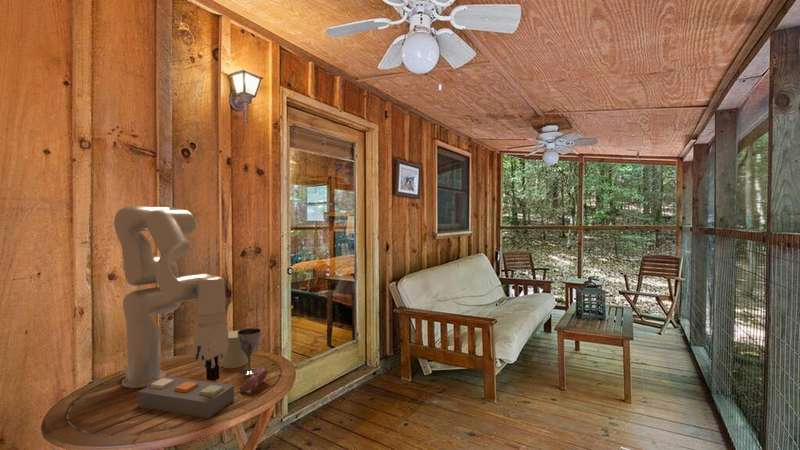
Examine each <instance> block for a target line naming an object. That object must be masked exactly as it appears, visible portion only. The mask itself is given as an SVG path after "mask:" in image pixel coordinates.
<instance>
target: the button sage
mask: <svg viewBox="0 0 800 450" xmlns="http://www.w3.org/2000/svg"><path fill="white" fill-rule="evenodd" d="M222 391H223V387H222V386H215V385H210V386H208V387H206V388H205V389H203V390H201V391H200V395H201V396H208V397H214V396H215V395H217V394H219V393H220V392H222Z"/></svg>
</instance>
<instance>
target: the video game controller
mask: <svg viewBox="0 0 800 450" xmlns="http://www.w3.org/2000/svg"><path fill="white" fill-rule="evenodd" d="M268 375H269V370H267V368H264V367H262V368H261V369H260V368H259V370H257V371H255V372H254V374H253V375H250V376H249V378H248V379H247V380H246V381H245V382H244V383H243V384H241V385H240V386H239V392H240V393H247V392H248V391H250V390H252V391H254V390H255V389H256V388H257V386H261V385H262V384H263V381H264V380H265V379H266V378H267V377H268Z"/></svg>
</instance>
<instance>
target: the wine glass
mask: <svg viewBox="0 0 800 450" xmlns="http://www.w3.org/2000/svg"><path fill="white" fill-rule="evenodd" d="M237 331H238V333H237V337H238V344H239V347H240V349H241V350H242V351H243V352H244V353H245V354H246V355H247V361H248V363H247V368H244V369H240V371H239V372H238V375H240V376H243V377H248V376H249V377H251V376H252V375H253V374H254V372H255V371H257V370H260V368H258V367H252V366H251V361H252V356H253V354H254V353H255V351H256V350H257V349H258V348H259V346H260V342H261V337H262V335H261V334H262V330H261V328H257V327H247V328H243V329H240V330H237Z"/></svg>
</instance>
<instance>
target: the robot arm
mask: <svg viewBox="0 0 800 450" xmlns="http://www.w3.org/2000/svg"><path fill="white" fill-rule="evenodd" d="M196 222H197V221H196V218H195V217H194V215H193V213H192V212H190V211H189V210H187V209H183V208H176V207H170V206H145V205H142V206H141V205H137V206H134V205H133V206H127V207H126V206H125V207H123V208H122V207H121V208H120V209H119V210H118V211H117V212H116V213H115V216H114V221H113V224H114V230H115V231H114V232H115V234H116V237H117V239H118V242H119V244H120V246H121V252H122V253H121V254H122V260H123V261H122V262H123V269H124V271H123V272H124V276H125V280H126V283H127V284H128V285H131V286H136V287H137V286H147V285H153V284H157V286H156V287H147V288H142V289H137V290H133V291H131V292H129V293H127V294H126V295H125V296H124V298H123V300H122V310H123V312H124V318H125V324H126V326H125V327H126V350H127V351H126V356H127V357H126V361H127V363H126V365H125V366H124V368H123V369H122V368H121V370H120V374H125V378H123V379H122V381H121V385H122V387H123V388H127V389H139V388H141V389H142V388H146V387H148V386H150V385H151V384H152V383H154V382H156V381H158V380H160V379H162V378H166V377H167V373H166V371H164V370H162V369H161V368H162V367H161V327H160V325H159V323H158V322H157V321H156V320H155V319H154V318H153V317H154V316H157V315H161V314H166V313H169V312H173V311H176V310H177V309H178V308H179V307H180V306H181V303H184V302H188V301H193V300H196V316H197V317H196V320H197V322H196V324H197V325H196V326H195V328H194V331H193V332H194V333H193V340H192V341H193V343H192V358H193V360H196V361H197V367H198V366H199V367H203V366H204V368H206V369H205V370H206V373H205V374H206V380H207V381H209V382H211V381H213V382H216V381H217V380H219V379H220V365H222V356H224V355H225V354H226V351H227V350H228V346H229V339H228V332H229V331H228V330H229V329H228V324H227V319H226V289H225V288H226V282H225V278H223V277H222V276H218V275H211V274H208V273H198V274H189V275H182V276H180V273H179V268H178V264H177V262H176V261H177V260H179V259H181V258H183V257H184V256H185V255H186V254H187V253H189V251H190V249H191V244H190V241H189V240H188V238H187V237H186V235H189V234H192V233H193V232H194V231H195V229H196V227H197V226H196V225H197V224H196ZM142 232H149V233H150V235H151V238H152V240H153V241H154V244H155V246H156V248H157V250H158V251H159V253H160V255H157V256H155V255H154V253H153V248H152V247H153V246H152V243H151V241H150V240H149V239H148V237H147V236H146V235H144V234H143V233H142Z"/></svg>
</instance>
